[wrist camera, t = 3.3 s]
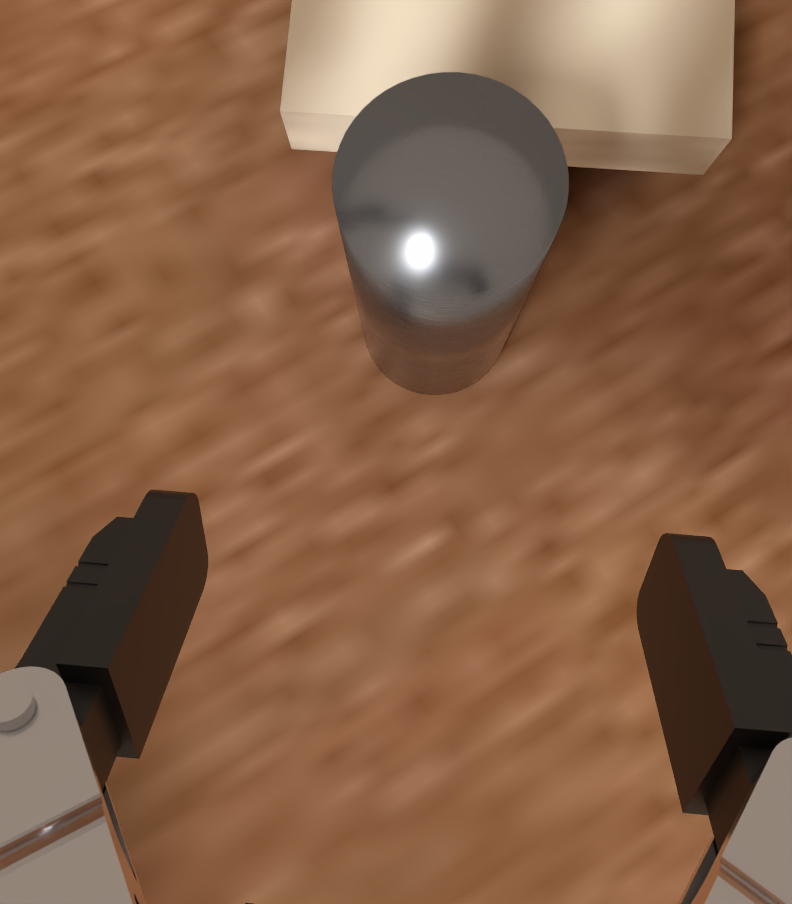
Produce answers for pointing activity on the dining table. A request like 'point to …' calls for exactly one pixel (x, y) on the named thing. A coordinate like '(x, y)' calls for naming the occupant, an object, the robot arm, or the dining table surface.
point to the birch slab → (530, 70)
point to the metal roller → (446, 222)
